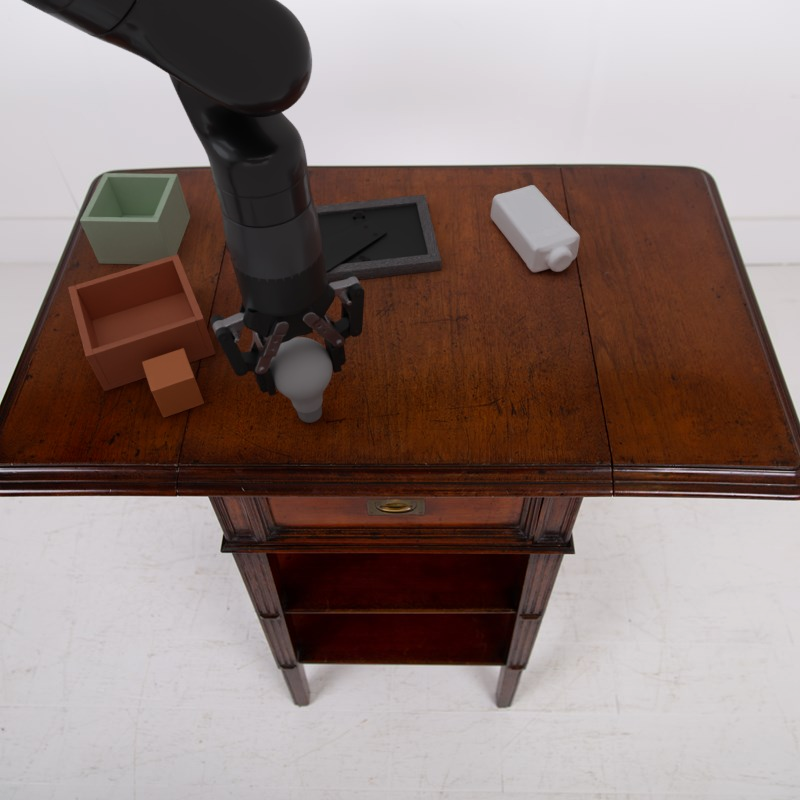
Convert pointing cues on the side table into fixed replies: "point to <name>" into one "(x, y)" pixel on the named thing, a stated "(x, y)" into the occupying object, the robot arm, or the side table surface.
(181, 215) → the sage bin
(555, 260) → the white bottle
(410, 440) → the side table surface
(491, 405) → the side table surface
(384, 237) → the picture frame
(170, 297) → the terracotta bin
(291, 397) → the lightbulb
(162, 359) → the block
